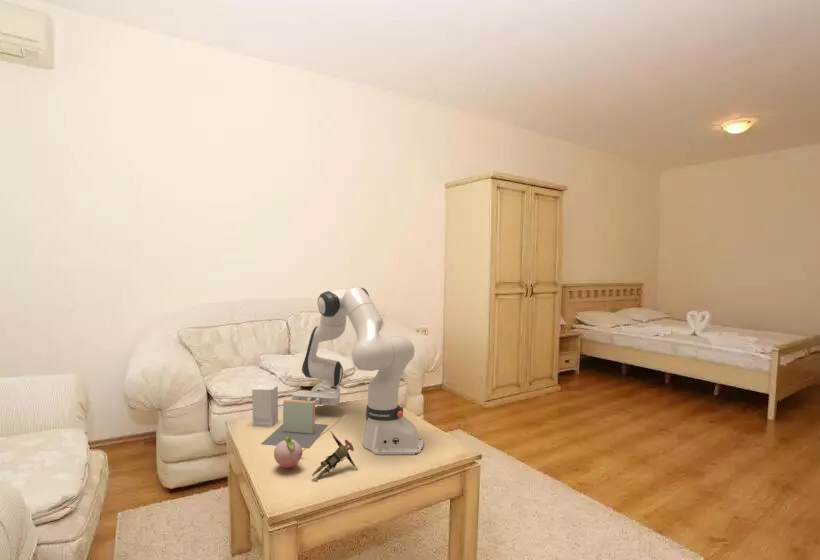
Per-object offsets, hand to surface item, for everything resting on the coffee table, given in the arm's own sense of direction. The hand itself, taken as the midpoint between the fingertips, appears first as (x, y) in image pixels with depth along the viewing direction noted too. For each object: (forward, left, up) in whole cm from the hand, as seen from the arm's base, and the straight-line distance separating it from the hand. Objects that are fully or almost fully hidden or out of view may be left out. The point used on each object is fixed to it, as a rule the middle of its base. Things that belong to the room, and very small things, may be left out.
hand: (310, 404), depth 173 cm
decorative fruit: (-7, +39, -8) cm, 40 cm away
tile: (0, +12, -7) cm, 14 cm away
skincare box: (+16, +7, -8) cm, 19 cm away
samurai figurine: (-20, +38, -8) cm, 44 cm away
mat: (0, +14, -7) cm, 16 cm away
